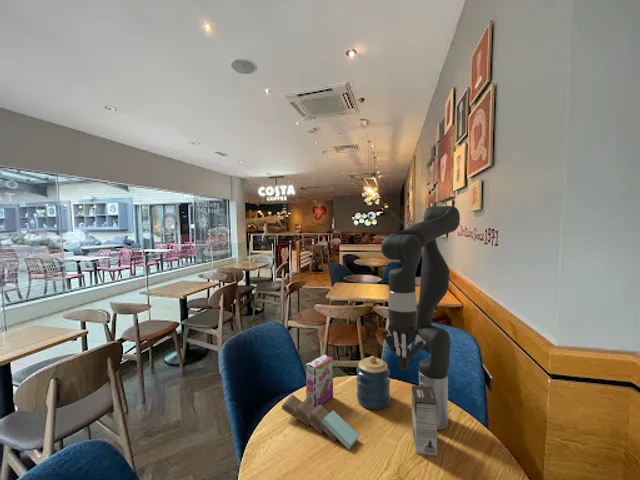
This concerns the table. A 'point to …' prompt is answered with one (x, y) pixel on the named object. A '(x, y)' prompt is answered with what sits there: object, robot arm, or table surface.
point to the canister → (373, 383)
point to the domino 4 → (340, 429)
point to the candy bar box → (319, 380)
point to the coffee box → (424, 420)
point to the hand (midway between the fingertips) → (403, 368)
